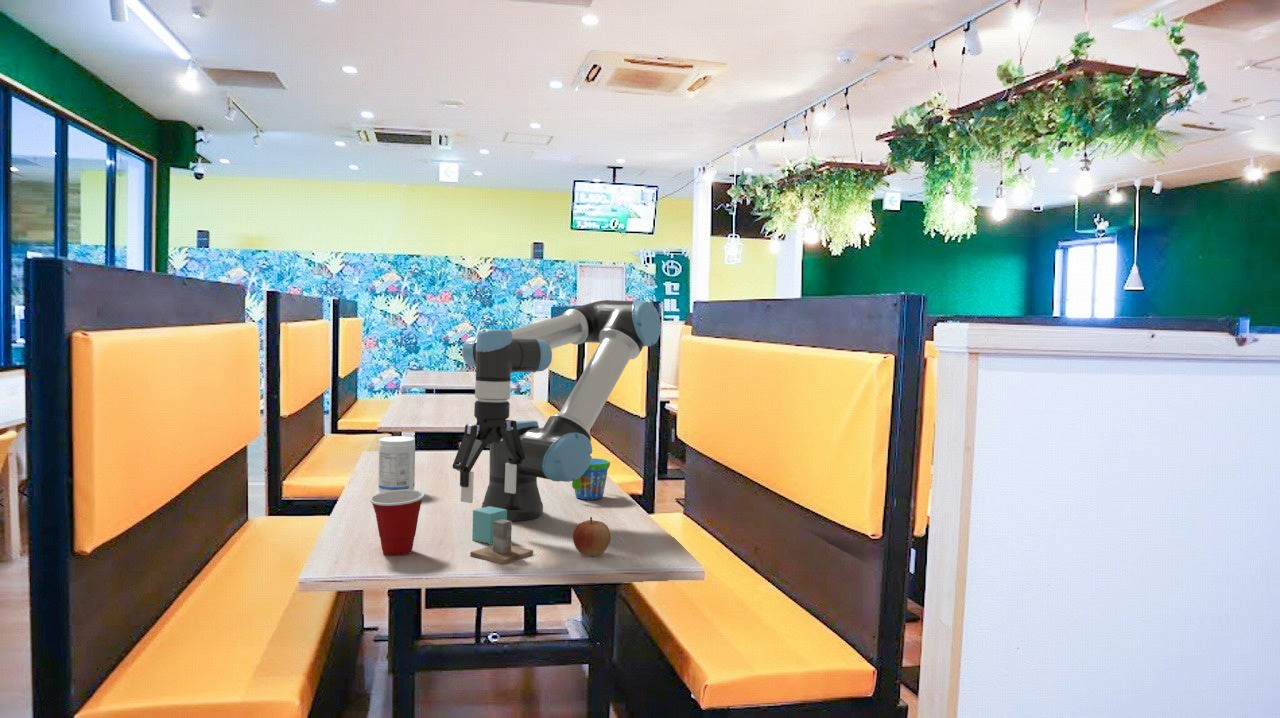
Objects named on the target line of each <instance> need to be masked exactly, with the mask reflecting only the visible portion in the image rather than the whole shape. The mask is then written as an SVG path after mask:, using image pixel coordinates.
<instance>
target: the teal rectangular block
mask: <svg viewBox="0 0 1280 718" xmlns="http://www.w3.org/2000/svg"><path fill="white" fill-rule="evenodd" d="M501 519H504V520H507V510H506V509H501V508H496V507H491V506H488V507H484V508H482V507H480V508H477V509H473V510H472V535H471V536H472V541H475V542H477V543H478V542H479V543H482V542H483V544H486V543H488V545H492V544H491V543H493V526H494V521H497V520H501Z"/></svg>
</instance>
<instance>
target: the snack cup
mask: <svg viewBox="0 0 1280 718" xmlns="http://www.w3.org/2000/svg"><path fill="white" fill-rule="evenodd" d="M610 466H611V462H610V461H609V460H607V459H602V458H593V457H592V459H591V462H590V465H589V467H588V468H587V470H586V471H585V473H584V474H583V475H582V476H581V477H579V478H578V479H576V480H574V481H571V487H572V488H573V490H574V492H575V493H574V494H575V497H576V498H578V499H581V500H585V499H587V500H588V501H594V499H595V500H599V499H602V498H603V497H604V494H605V488H606V482H607V475H608V470H609V468H610Z"/></svg>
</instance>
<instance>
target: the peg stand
mask: <svg viewBox="0 0 1280 718" xmlns="http://www.w3.org/2000/svg"><path fill="white" fill-rule="evenodd" d="M512 522H513V521H509V520H504V519H501V520H497V521H494V526H493V544H491V545H489V546H486V547H482V548H479V549H475V550H473V551H470V553H469V556H470V557H474V558H478V559H482V560H485V561H490V562H493V563H498V564H502V565H505V564H508V563H511V562H514V561H517V560H520V559H523V558H525V557H529V556H532V555H533V554H534V550H533V549H528V548H525V547H521V546H516V545H512V529H513V528H512V524H513V523H512Z"/></svg>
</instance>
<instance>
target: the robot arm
mask: <svg viewBox="0 0 1280 718" xmlns="http://www.w3.org/2000/svg"><path fill="white" fill-rule="evenodd" d="M660 318H661V317H660V314H659V312H658V310H657V308H656V306H654V304H653V303H651V302H649V301H647V300H645V301H644V300H640V299H635V300H614V299H613V300H610V299H604V300H602V299H601V300H598V301H597V300H596V301H593V302H590V303H586V304H583V305H579V306H577V307H573V308H569V309H567V310H566V311H564V312H563V313H562V315H558V316H555V317H551V318H548V319H545V320H540V321H537V322H533V323H529V324H526V325H523V326H519V327H515V328H513V329H490V328H489V329H488V328H483V329H480V330H478V332H477V335H476V336H471V337H468V338H467V339H466V340H465V341H464V343H463V345H462V348H461V353H462V359H463V361H464V363H466V365H468V366H469V367H472V368H475V385H474V386H475V388H474V389H475V390H474V397H475V398H476V401H475V402H474V406H473V407H474V408H473V409H474V411H473V412H474V413H473V416H474V418H476V423H475V424H470V423H466V424H465V426H464V434H463V436H462V439H461V443H460V444H459V448H458V450H457V452H456V454H455V458H454V461H453V464H452V466H451V467H452V469H453V470H456V471H458V472H459V485H460V486H459V487H460V489H461V490H460V491H461V492H460V502H463V503H467V504H473V501H474V478H475V477H474V473H475V472H474V471H472V469H473V467H475V466H474V465H475V464H476V462H477V461H478V460H479V457H480V456H481V453H482V452H483V450H484V448H485V447H487V446H488V445H489V476H488V478H489V479H488V480H489V481H488V486H487V489H486V492H485V495H484V498H483V502H482V503H481V508H484V507H488V506H491V507H496V508H501V509H506V510H507V520H509V521H512V522H517V521H518V522H519V521H527V520H528V521H529V520H533V519H537V518H540V517H542V516H543V515H544V503H543V502H542V499H541V495H540V490H539V487H538V480H537V479H538V478H540V479H545V480H550V481H553V482H566V483H569V482H573V481H574V480H576V479H578V478H579V477H581V476H582V475H583V474H584V473H585V471H586V470H587V468H588V467H589V465H590V462H591V459H592V458H593V457H592V453H593V446H592V443H591V442H592V435H591V433H590V431H591V430H592V429H591V428H592V427H593V426H594V424H595V422H596V420H597V418H598V417H599V415H600V413H601V411H602V409H603V407H604V406H605V405H606V402H607V400H608V398H609V397H610V395H611V393H612V391H613V390H614V388H615V386H616V385H617V382H618V381H619V379H620V377H621V376H622V373H623V372H624V370H625V368H626V366H627V365H628V363H629V361H630V360H634V359H637V358H638V357H639V355H640V353H641V352H642V350H643V348H644V347H651V346H654V345H655V344H656V343H657V342H658V340H659V337H660V335H661V319H660ZM585 343H586V344H587V343H592V344H593V343H595V344H596V343H598V344H599V345H598V346H597V349H596V350H595V352H594V353H593V355H592V356H591V358H590V360H589V362H588V363H587V366H586V367H585V369H584V370H583V372H582V374H581V375H580V377H579V379H578V380H577V382H576V383H575V385H574V388H573V389H572V391H571V392H570V394H569V395H568V397H567V399H566V401H565V403H564V404H563V405H562V407H561V409H560V410H559V412H558V413H556V414H552V415H550V416H549V417H548V419H547V420H546V422H545V424H544V426H543V427H542V428H540V426H539V422H538V420H518V421H517V420H511V419H509V417H510V405H511V404H510V402H509V401H508V400H510V399H511V375H512V373H537V372H544V371H546V369H548V368H549V366H550V365H551V363H552V359H553V352H552V350H553V349H555V348H559V347H563V346H565V345H568V344H572V345H575V346H576V345H582V344H585Z"/></svg>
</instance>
